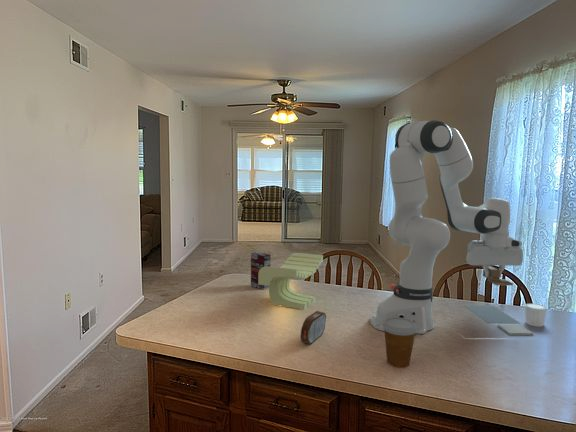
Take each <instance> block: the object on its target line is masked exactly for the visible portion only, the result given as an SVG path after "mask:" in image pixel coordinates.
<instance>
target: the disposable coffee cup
mask: <svg viewBox="0 0 576 432" xmlns="http://www.w3.org/2000/svg"><path fill="white" fill-rule="evenodd" d="M383 327H384V331H383V332H384V340H385V350H386V351H385V353H386V362H387V364H388V365H390V366H391V367H395V368H407V367H409V366H410V365H411V364H410V363H411V358H412V353H413V347H414V341H415V336H416V334H417V333H416V331H417V327H416V324H415V322H414V321H412V320H409V319H406V318H399V317H393V318H388V319H386V320H385V322H384V324H383Z"/></svg>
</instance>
